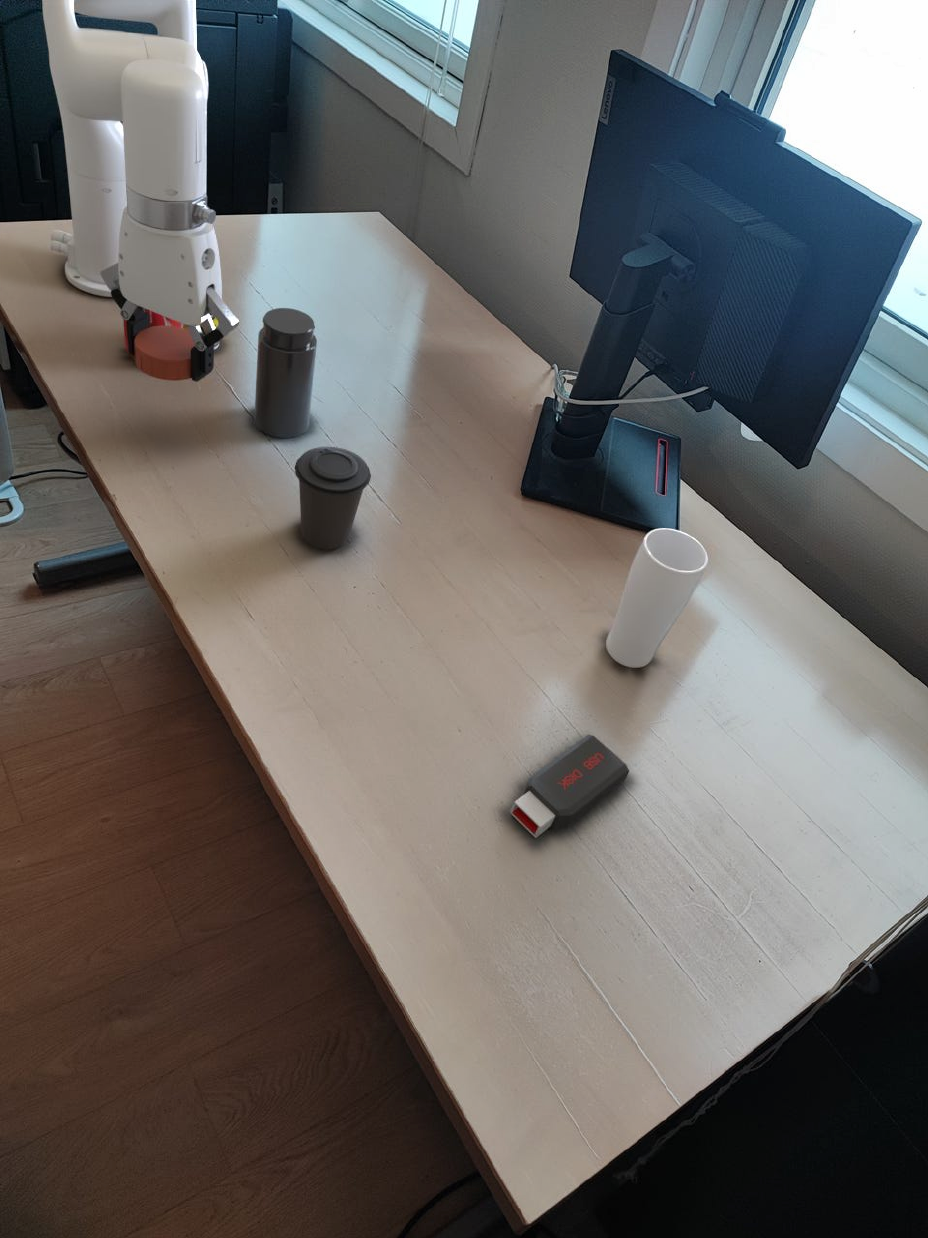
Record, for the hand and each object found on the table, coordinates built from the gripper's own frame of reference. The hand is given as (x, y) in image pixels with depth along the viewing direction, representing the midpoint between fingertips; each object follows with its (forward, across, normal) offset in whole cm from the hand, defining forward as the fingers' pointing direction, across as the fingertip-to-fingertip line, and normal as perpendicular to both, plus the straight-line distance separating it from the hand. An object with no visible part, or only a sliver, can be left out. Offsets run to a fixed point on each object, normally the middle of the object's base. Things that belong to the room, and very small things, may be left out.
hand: (170, 362), depth 106 cm
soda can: (+11, +13, -14) cm, 22 cm away
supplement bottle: (+11, +10, -21) cm, 25 cm away
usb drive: (+11, -59, +23) cm, 64 cm away
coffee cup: (+11, -23, +4) cm, 26 cm away
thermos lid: (-2, 0, 0) cm, 2 cm away
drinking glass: (+11, -59, +2) cm, 60 cm away
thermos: (+11, -8, -12) cm, 18 cm away
